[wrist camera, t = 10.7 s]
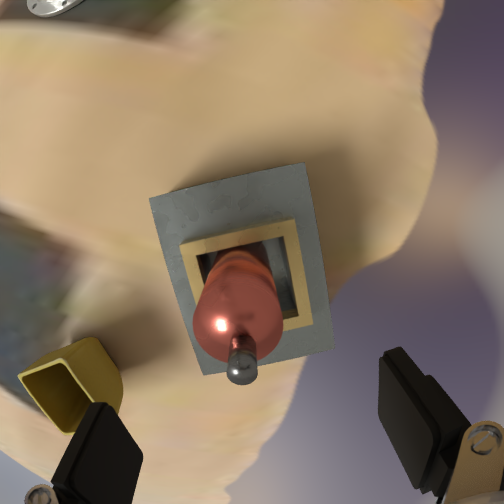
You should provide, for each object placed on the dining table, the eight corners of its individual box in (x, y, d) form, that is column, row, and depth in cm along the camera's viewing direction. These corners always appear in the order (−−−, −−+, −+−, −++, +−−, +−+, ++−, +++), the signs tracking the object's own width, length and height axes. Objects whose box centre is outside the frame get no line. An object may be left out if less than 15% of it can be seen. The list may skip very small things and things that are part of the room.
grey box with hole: (167, 193, 28) (142, 200, 21) (292, 164, 28) (308, 161, 21) (209, 342, 32) (201, 385, 25) (320, 319, 32) (339, 357, 25)
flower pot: (52, 338, 32) (15, 375, 23) (99, 316, 31) (61, 357, 23) (90, 392, 34) (63, 436, 25) (139, 377, 33) (116, 427, 25)
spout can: (211, 240, 28) (170, 314, 13) (262, 229, 27) (279, 294, 12) (223, 288, 29) (200, 397, 14) (272, 278, 29) (295, 382, 14)
